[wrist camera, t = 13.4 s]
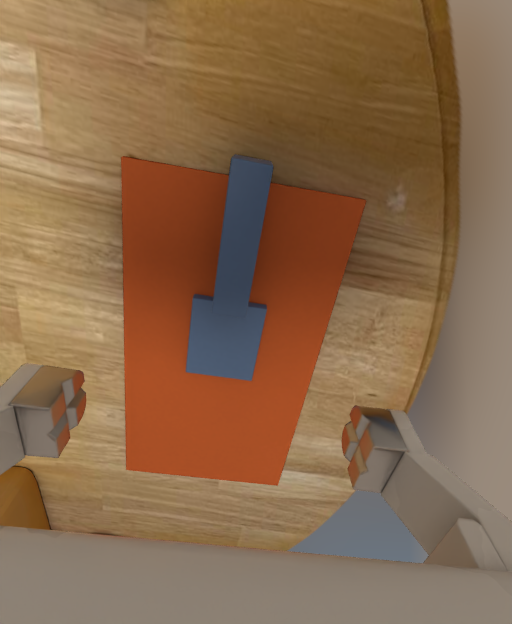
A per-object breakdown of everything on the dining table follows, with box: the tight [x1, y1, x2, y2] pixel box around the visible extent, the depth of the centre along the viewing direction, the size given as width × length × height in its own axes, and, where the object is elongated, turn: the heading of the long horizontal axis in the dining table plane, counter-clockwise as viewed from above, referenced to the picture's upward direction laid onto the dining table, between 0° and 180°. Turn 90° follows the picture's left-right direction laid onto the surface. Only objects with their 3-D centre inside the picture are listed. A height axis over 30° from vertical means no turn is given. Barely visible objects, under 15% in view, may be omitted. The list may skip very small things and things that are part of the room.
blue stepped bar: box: [186, 154, 273, 381], centre depth 24 cm, size 17×6×3 cm, turn 170°
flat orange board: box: [121, 156, 366, 485], centre depth 29 cm, size 30×16×1 cm, turn 170°
